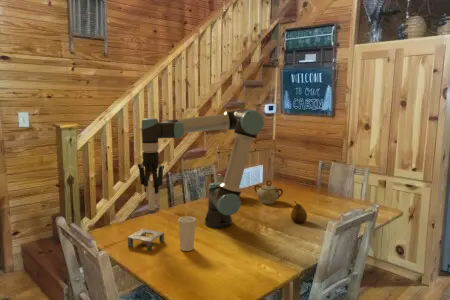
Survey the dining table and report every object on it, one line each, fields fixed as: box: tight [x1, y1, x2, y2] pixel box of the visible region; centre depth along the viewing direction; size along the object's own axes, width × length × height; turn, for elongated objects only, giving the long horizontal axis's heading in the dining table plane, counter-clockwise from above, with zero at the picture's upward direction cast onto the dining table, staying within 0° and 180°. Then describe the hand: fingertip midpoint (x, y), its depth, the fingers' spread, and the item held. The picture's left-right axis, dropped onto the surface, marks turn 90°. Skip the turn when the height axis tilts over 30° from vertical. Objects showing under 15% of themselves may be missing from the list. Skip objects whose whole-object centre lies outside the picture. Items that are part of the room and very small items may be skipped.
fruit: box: [290, 201, 308, 224], centre depth 207 cm, size 9×9×12 cm
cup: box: [178, 215, 197, 252], centre depth 168 cm, size 8×8×14 cm
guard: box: [127, 228, 165, 252], centre depth 173 cm, size 12×12×5 cm
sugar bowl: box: [253, 180, 284, 205], centre depth 243 cm, size 20×15×15 cm
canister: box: [213, 167, 227, 182], centre depth 253 cm, size 18×18×21 cm
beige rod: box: [147, 178, 157, 214], centre depth 176 cm, size 3×3×16 cm
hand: (151, 199), depth 177 cm, fingers closed on beige rod, 3 cm apart
